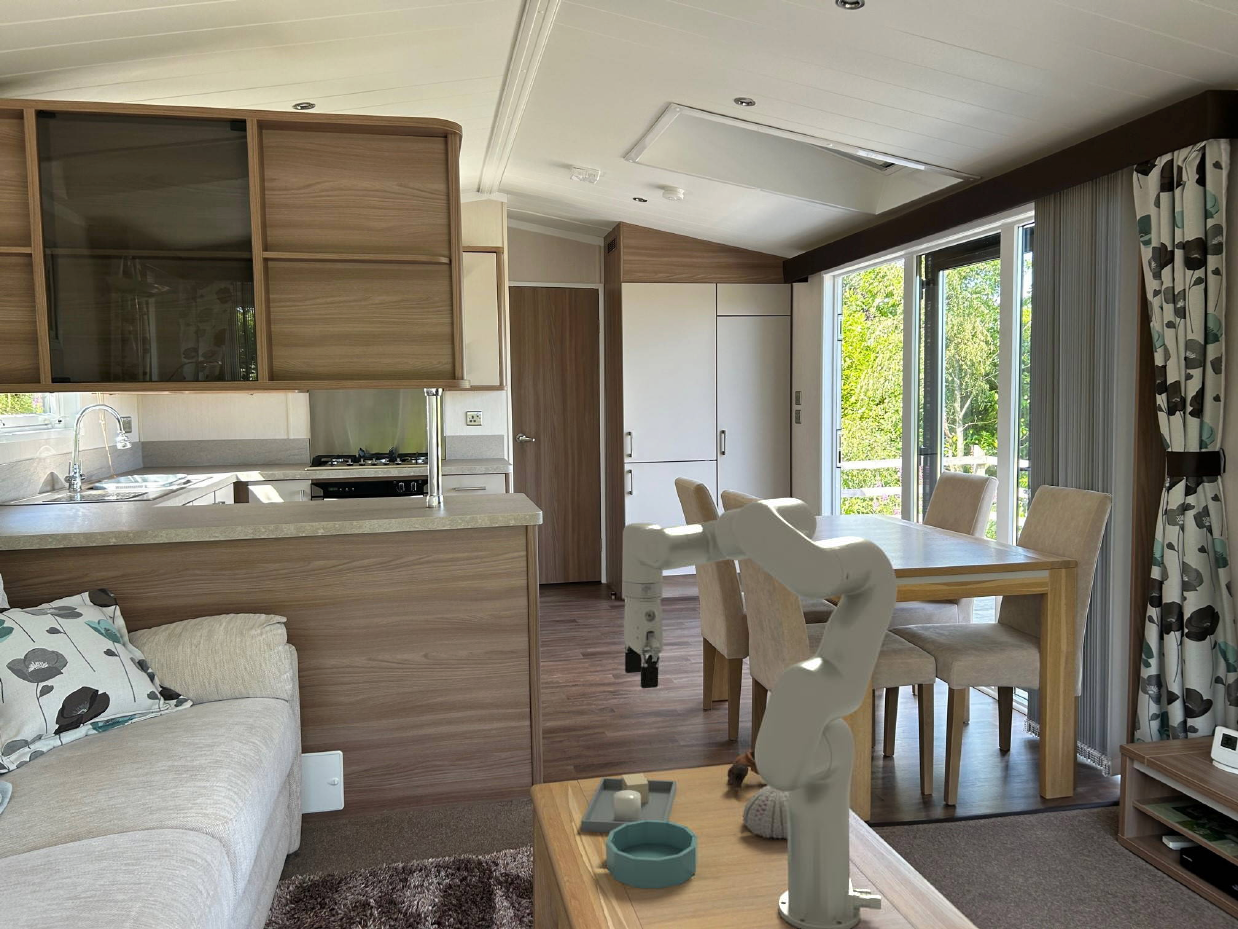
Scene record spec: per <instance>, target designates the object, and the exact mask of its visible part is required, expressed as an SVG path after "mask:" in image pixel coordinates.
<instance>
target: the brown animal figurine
mask: <svg viewBox="0 0 1238 929" xmlns="http://www.w3.org/2000/svg"><path fill="white" fill-rule="evenodd" d="M749 768H750V771H751V772H752V773H755V774H756V775H758V776H760V774H759V772H758V770H757V767H756V762H755V749H754V750H753V749H749V750H747V751H746V753H744V754H742V755H739V756H737V757H736V758H735V760H734V761H733V762H732V765H731V766H730V767H729V768H728V769H727V774H726V775H727V781H726V782H727V786H733V787H734V788H738V789H741V788H742V786H743V782H744V780H745V779H746V777H747V776H748V774H749ZM766 786H768V785H767V784H766V783H765V784H764V787H766Z"/></svg>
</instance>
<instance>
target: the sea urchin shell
mask: <svg viewBox="0 0 1238 929" xmlns="http://www.w3.org/2000/svg"><path fill="white" fill-rule="evenodd" d="M787 802H788V792H784V791H778V790H775V789H773V788H771V787H770V786H766V787H765V786H763V787H762V788H759V790H757V791H756V792H755V793H754V794H753V795H752V796H751V797H750V798H748V801H747V802H746V804H745V805H744V808H743V815H742V818H743V819H742V821H743V822H744V826H745V827H747V830H749V831H751V832H753V834H755V835H759V836H762V837H763V838H774V839H779V840H781V839H782V838H784V839H787V840H788V830H787V812H788V811H787Z"/></svg>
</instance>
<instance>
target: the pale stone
mask: <svg viewBox="0 0 1238 929" xmlns="http://www.w3.org/2000/svg"><path fill="white" fill-rule="evenodd" d="M614 821H617V822H636V821H641V795H640V793H638V792H636V791H632V790H624V791H619V792H617V793H615V794H614Z"/></svg>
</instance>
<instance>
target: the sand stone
mask: <svg viewBox="0 0 1238 929" xmlns="http://www.w3.org/2000/svg"><path fill="white" fill-rule="evenodd" d="M621 778H622V791H624V790H632V791H636V792H638V793H640V795H641V803H649V789H648V782H647V780H648V779H647V778H646V776H645V775H644V773H643V772H641V773H631V774H621ZM646 779H647V780H646Z"/></svg>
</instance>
